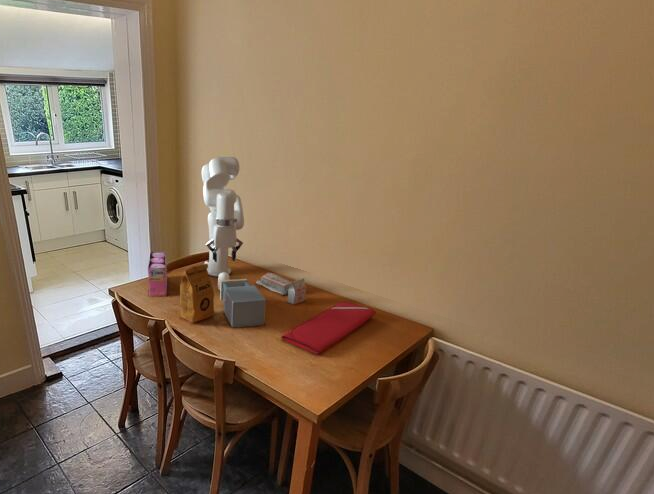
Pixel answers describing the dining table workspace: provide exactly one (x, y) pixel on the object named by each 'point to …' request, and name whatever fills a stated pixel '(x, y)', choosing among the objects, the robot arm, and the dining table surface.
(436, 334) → the dining table surface
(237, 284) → the tray
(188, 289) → the coffee package
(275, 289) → the packaged product
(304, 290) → the small milk carton
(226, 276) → the capsule
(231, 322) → the blue-grey box
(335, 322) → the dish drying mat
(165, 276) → the gum box
